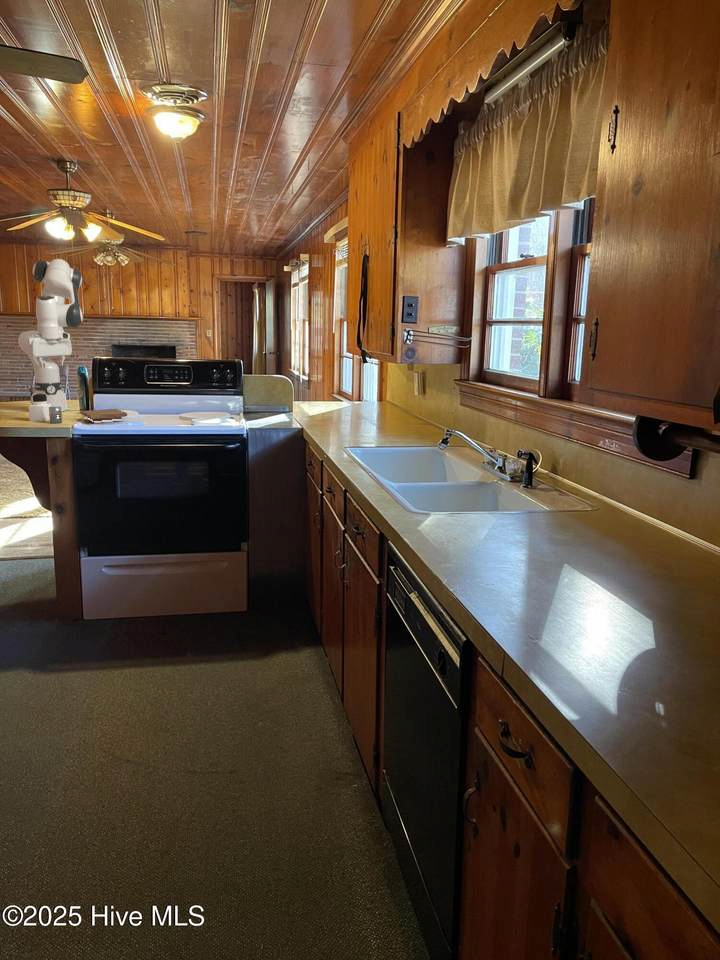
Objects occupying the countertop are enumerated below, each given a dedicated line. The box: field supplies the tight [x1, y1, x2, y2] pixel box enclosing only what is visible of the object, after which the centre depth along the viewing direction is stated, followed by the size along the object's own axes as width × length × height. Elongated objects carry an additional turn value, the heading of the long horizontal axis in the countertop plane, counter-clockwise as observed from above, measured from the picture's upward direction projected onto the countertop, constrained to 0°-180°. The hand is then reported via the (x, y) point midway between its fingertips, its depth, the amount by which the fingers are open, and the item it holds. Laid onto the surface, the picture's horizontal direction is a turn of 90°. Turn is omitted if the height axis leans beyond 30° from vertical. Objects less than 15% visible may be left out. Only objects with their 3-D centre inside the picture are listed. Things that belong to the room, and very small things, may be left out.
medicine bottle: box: [28, 394, 51, 422], centre depth 319 cm, size 7×7×12 cm
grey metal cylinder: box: [49, 407, 63, 425], centre depth 313 cm, size 5×5×7 cm
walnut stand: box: [80, 408, 128, 421], centre depth 321 cm, size 16×16×4 cm
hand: (51, 366), depth 308 cm, fingers open, 8 cm apart
